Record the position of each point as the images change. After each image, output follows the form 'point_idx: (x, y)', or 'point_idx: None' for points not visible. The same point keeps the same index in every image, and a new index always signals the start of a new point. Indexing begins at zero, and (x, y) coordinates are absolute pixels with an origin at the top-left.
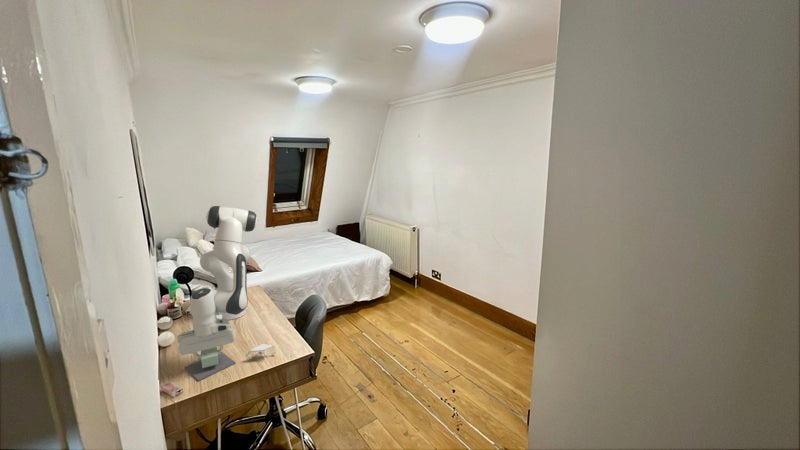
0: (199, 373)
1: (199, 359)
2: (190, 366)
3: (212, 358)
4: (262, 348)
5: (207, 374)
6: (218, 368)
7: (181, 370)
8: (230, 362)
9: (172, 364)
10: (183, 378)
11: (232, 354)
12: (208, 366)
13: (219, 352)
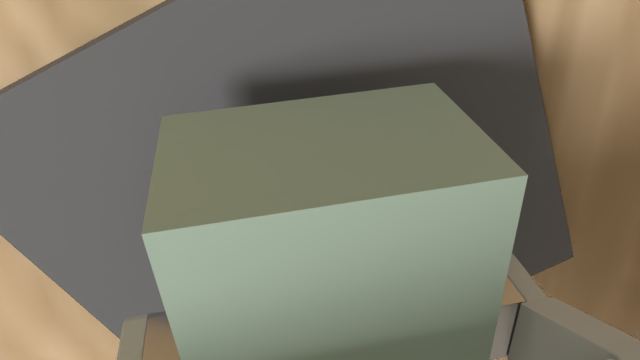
0: (451, 48)
1: None
2: (521, 244)
3: (271, 182)
4: None
5: None
6: (177, 69)
7: (597, 216)
8: (3, 170)
9: (630, 325)
10: (624, 43)
11: (54, 349)
12: (338, 95)
13: (151, 354)
